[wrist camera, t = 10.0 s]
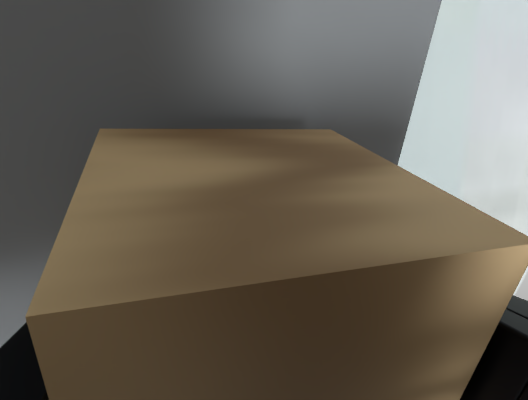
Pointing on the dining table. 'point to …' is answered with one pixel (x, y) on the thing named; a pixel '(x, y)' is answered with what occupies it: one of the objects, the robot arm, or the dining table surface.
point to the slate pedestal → (183, 91)
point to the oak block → (265, 273)
